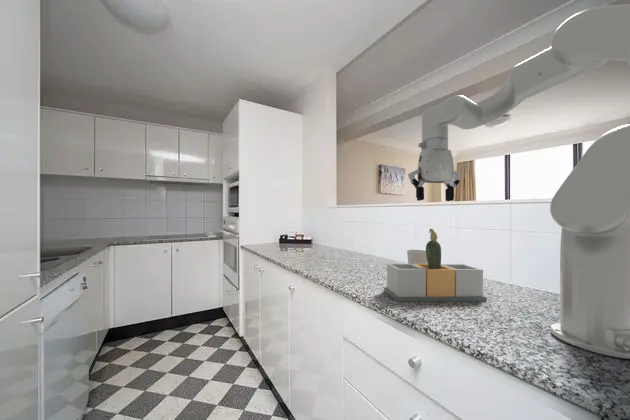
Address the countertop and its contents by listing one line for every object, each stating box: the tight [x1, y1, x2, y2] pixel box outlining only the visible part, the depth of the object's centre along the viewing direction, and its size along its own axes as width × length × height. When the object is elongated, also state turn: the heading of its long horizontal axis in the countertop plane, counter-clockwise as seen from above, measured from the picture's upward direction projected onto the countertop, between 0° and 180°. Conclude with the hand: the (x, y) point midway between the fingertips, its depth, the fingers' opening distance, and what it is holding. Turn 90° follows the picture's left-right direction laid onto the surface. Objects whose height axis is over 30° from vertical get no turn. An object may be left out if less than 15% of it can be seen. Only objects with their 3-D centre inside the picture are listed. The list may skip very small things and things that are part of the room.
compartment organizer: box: [383, 263, 488, 303], centre depth 77 cm, size 10×28×9 cm, turn 95°
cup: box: [406, 249, 428, 264], centre depth 92 cm, size 8×8×12 cm
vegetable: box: [425, 227, 442, 269], centre depth 77 cm, size 4×4×20 cm
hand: (435, 200), depth 77 cm, fingers open, 9 cm apart
